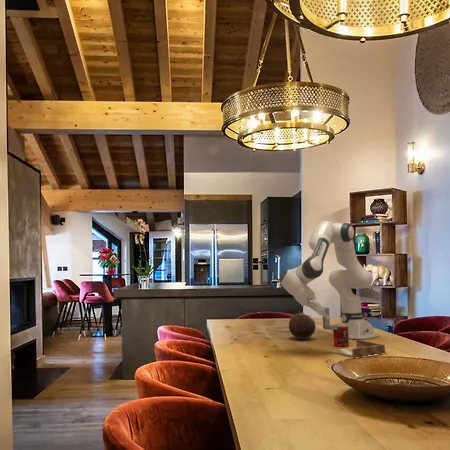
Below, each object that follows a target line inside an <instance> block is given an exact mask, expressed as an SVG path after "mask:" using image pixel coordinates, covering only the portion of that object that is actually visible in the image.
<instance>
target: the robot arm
mask: <svg viewBox="0 0 450 450" xmlns="http://www.w3.org/2000/svg"><path fill="white" fill-rule="evenodd" d="M354 237H355V229H354V226H352V224H351V223H348V222H344V223H342V222H333V223H332V222H331V221H328V220H322V221H320V222H319V223H318V224H317V226H315V228H314V230H313V231H312V232H311V235H310V237H309V241H308V245H309V247H310V249H311V250H312V253H311V256H309V257H308V258H307V259H306V260H305V261H303V262H302V263H300V265H299V266H297V267H295V268H292V269H291V268H290V269H285V270H284V272H283V273H282V274H281V275H280V278H279V283H280V285H281V286H282V288H284V290H285V291H286V292H288V293H289V294H290V295H291V296H293V298H294V299H295V301H297V302H298V303H299V304H300V305H301V307H307V308H308V307H309V308H310V309H311V310H313V311H315V312H316V313H317V314H318V315H320V316H322V317H323V316H324V317H325V318H326V319H330V318H331V317H330V315H329V316H328V315H327V314H326V312H325V309H324V308H323V307H324V306H323V305H321V304H320V303H319V302H318V301H317V300H316V299H317V296H315V295H316V292H315V291H313V289H311V288H310V287H309V286H308V285H309V283H311V282H312V281H314V280H316V279H317V278H319V277H321V275H322V274H323V273H324V261H325V258H326V255H327V254H328V253H327V252H328V250H329V248H330V246H331V244H333V247H334V253H335V257H336V262H337V263H338V264H339V265H340V266H341V267H344V268H345V269H336V270H332V271H331V272H330V273H329V276H328V281H329V282H328V283H330V285H331V286H332V287H333V288H334V289H335V290H336V292H337V293H338V296H339V298H340V303H341V313H340V316H341V318H340V319H341V324H347V325H348V337H349V339H355V340H366V339H371V338H376V337H379V334H377V333H375V331H374V326H373V325H372V324H371V323H370V322H369V321H367V320H366V319H365V317H367V316H368V314H367V313H366V312H362V300H361V297H360V296H358V295H356V294H355V293H353V291H352V289H356V290H357V289H358V290H359V289H360V290H361V289H367V288H370V287H371V286H372V284H373V283H374V282H373V281H374V278H373V275H372V273H371V272H370V271H369V270H367V269H366V268H365V267H364V266H362V264H361V263H360V261H359V259H358V257H357V253H356V249H355V243H354V241H353V240H354Z"/></svg>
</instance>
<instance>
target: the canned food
mask: <svg viewBox="0 0 450 450" xmlns="http://www.w3.org/2000/svg"><path fill="white" fill-rule="evenodd" d="M332 325H337V329H332V330H333V331H332V333H333V335H332V336H333V346H334V347H337V348H349V344H350V343H349V342H350V341H349V339H350V338H349V337H348V325H347V324H342V323H333V324H332Z"/></svg>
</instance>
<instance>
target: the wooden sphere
mask: <svg viewBox="0 0 450 450" xmlns="http://www.w3.org/2000/svg"><path fill="white" fill-rule="evenodd" d="M288 329H289V331H290V334H291V335H292V336H293V337H294V338H295V339H298V340H307V339H309V338H311V337H312V336H313V335H314V333H315V332H316V322H315V320H314V318H313V317H312V316H311V315H310V314H308V313H306V312H297V313H295V314H294V315H292V316H291V318H290V319H289V322H288Z"/></svg>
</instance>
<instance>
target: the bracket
mask: <svg viewBox="0 0 450 450" xmlns="http://www.w3.org/2000/svg"><path fill="white" fill-rule="evenodd" d="M322 307H323V308H324V309H325V312H326V314H327V315H328V316H329V317H330V308H329V307H327V306H326V307H325V306H322ZM330 322H331V321H330V318H329V319H326V318H325V317H324V316H322V329H323V330H325V331H326V330H331V331H332V330H333V329H337V325H333V324H330Z"/></svg>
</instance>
